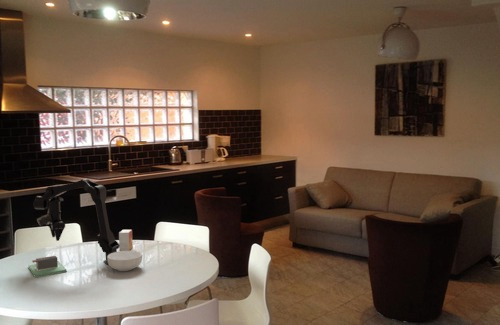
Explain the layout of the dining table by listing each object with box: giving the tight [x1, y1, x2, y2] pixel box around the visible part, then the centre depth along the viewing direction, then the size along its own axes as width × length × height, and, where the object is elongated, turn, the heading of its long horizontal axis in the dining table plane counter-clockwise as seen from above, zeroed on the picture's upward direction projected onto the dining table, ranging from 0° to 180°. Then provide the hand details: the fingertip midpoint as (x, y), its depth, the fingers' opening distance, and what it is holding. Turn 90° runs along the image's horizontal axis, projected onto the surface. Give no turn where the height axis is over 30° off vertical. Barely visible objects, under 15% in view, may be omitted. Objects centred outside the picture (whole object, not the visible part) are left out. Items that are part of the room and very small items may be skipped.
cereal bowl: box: [107, 250, 143, 272], centre depth 243 cm, size 17×17×7 cm
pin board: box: [28, 260, 68, 278], centre depth 243 cm, size 18×14×4 cm
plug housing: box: [31, 255, 59, 270], centre depth 242 cm, size 4×11×4 cm, turn 124°
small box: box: [118, 229, 134, 251], centre depth 279 cm, size 8×6×10 cm
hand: (55, 238), depth 259 cm, fingers open, 9 cm apart
